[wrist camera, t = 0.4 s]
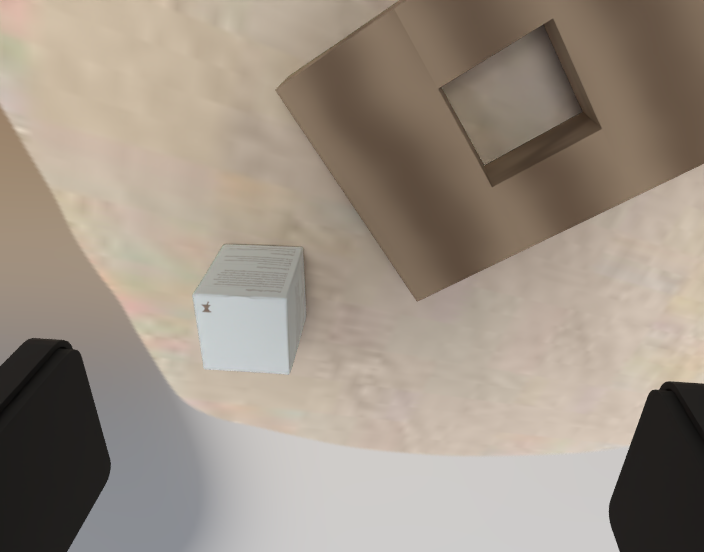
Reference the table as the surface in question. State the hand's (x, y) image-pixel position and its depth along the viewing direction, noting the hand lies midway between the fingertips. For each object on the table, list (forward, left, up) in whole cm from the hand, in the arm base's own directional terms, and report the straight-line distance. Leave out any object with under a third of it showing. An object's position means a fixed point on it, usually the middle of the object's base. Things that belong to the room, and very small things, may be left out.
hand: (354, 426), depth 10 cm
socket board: (-6, +4, -29) cm, 30 cm away
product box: (+15, +7, -30) cm, 34 cm away
